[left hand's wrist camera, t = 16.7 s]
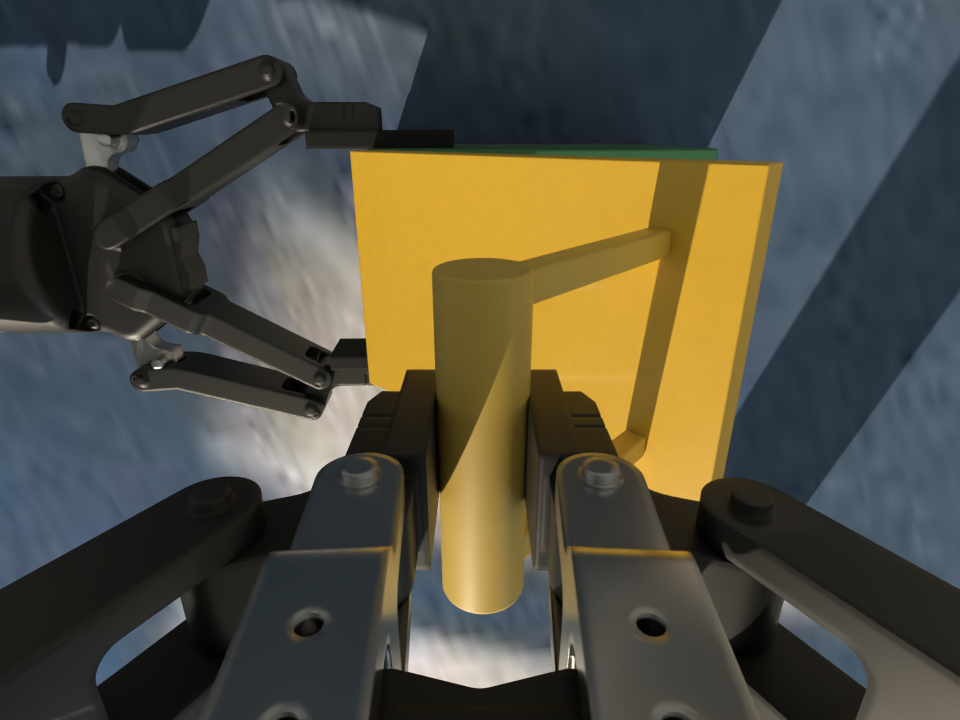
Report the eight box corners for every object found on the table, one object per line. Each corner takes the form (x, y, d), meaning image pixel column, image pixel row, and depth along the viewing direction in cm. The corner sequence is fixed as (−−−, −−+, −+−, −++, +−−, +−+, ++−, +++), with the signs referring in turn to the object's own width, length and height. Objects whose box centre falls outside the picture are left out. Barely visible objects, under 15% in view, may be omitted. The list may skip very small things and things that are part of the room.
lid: (784, 162, 13) (577, 189, 7) (717, 513, 17) (543, 729, 11) (371, 149, 23) (131, 157, 17) (387, 375, 26) (196, 449, 20)
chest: (644, 143, 33) (719, 148, 23) (628, 308, 36) (686, 370, 27) (392, 144, 32) (362, 149, 23) (401, 310, 36) (379, 374, 27)
